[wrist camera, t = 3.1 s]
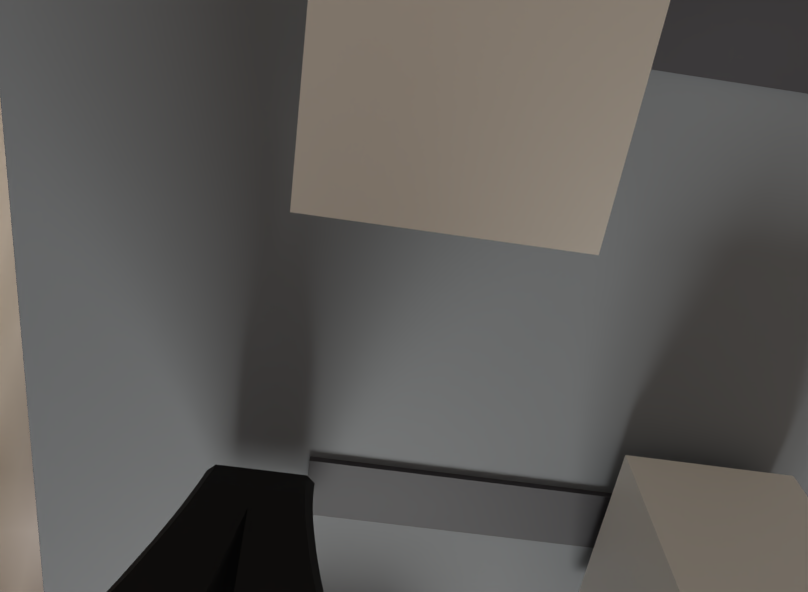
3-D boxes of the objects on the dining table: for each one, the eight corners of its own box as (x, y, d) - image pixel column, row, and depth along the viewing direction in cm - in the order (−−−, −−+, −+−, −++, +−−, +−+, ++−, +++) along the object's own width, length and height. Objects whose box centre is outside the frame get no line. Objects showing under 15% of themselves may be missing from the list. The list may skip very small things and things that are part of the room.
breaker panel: (87, 821, 17) (66, 877, 16) (-4, -561, 7) (-72, -637, 6) (829, 891, 18) (853, 948, 17) (1640, -245, 8) (1811, -268, 7)
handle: (328, 118, 8) (290, 211, 6) (361, -198, 7) (328, -266, 4) (540, 150, 9) (598, 256, 6) (611, -156, 7) (725, -199, 5)
